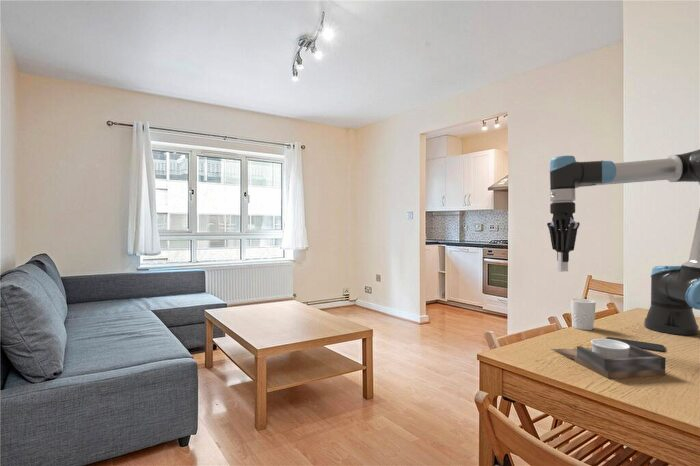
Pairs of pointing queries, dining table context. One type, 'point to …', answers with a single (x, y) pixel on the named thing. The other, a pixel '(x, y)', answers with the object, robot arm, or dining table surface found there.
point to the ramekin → (610, 348)
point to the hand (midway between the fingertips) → (563, 271)
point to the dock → (618, 362)
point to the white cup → (583, 313)
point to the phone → (641, 344)
